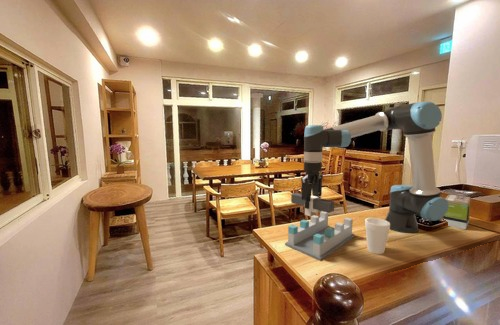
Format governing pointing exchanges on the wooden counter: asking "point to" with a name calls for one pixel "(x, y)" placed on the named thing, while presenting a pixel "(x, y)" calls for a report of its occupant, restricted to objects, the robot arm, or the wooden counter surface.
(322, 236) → the grey peg rack
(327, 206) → the grey banded pillar
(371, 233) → the foam cup
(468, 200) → the tea box
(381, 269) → the wooden counter surface
